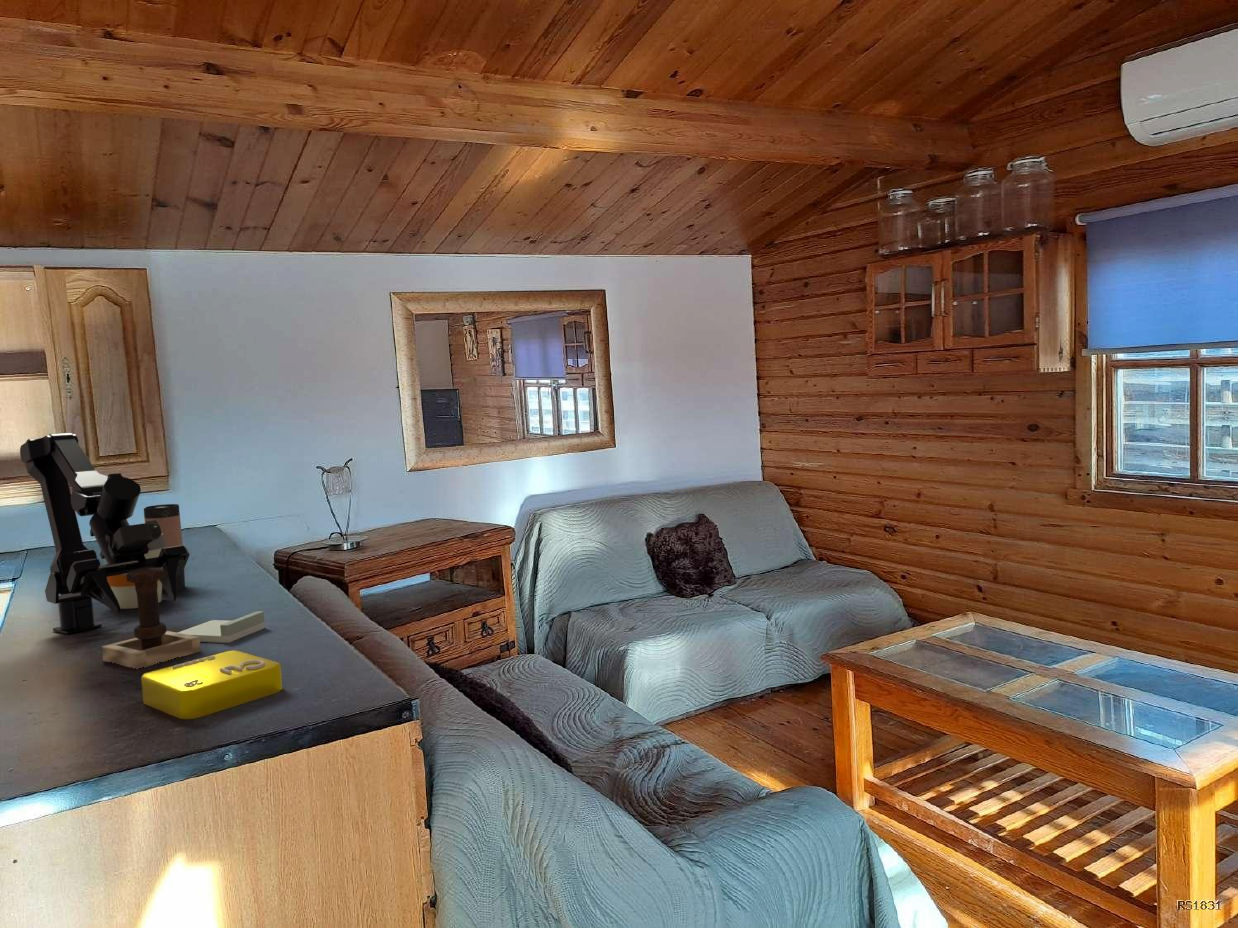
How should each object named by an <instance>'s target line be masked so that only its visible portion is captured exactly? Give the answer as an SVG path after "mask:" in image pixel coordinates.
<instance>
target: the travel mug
mask: <svg viewBox="0 0 1238 928" xmlns="http://www.w3.org/2000/svg"><path fill="white" fill-rule="evenodd" d="M143 517H144V523H146V521H152V520H156V521H157V522H158V524H159V526H160V528H161V532H162V533H163V535H164V540H165V545H166V546H165V547H164V548H166V547H172V546H178V545H183V546H184V544H183V534H182V526H181V525H182V524H181V523H182V522H181V513H180V504H179V503H178V504H177V503H168V504H167V503H166V504H156V505H149V506H145V507H144V508H143ZM185 579H186V576H185V569H184V570H183V572H182V573H181V574H179V575H178V576H177V578H176V591H179V590H182V589H185V588H186V580H185ZM162 593H167V592H166V590H165V589H164V587H163V585H162Z"/></svg>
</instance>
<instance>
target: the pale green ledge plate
mask: <svg viewBox="0 0 1238 928" xmlns="http://www.w3.org/2000/svg"><path fill="white" fill-rule="evenodd" d="M265 623H266V621H265V611H263V610H262V611H260V610H259V611H254V612H252V613H249V614H247V615H244V616H241V617H239V618H238V617H237V618H236V619H232V620H222V619H221V620H219V619H211V620H209V621H206V622H203V623H200V624H198V625H194V626H192V627H190V628H187V629H183V630H181V631H179V632H177V633H181V634H186V635H191V636H196V637H200V643H201V642H203V643H206V642H207V643H222V644H225V643H227V644H228V643H232V642H234V641H236V640H239V639H241V638H243V637H246V636H250V635H252V634H254V633H256V632H259V631H261V630H263V629H265V628H266V624H265Z"/></svg>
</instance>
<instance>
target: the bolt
mask: <svg viewBox="0 0 1238 928" xmlns="http://www.w3.org/2000/svg"><path fill="white" fill-rule="evenodd" d="M126 577H127V581H128V582H132V583H135V590H136V593H137V594H136V595H137V601H138V602H137V603H138V608H137V611H138V612H137V613H138V622H139V625H136V626H135V627H134V629H133V634H134V637H135V638H137V639H141V641H142V642H141V643H142V644H141V645H142V646H141V647H142V650H146V649H149V648H153V647H157V646H161V645H162V642H161V641H162V640H161V636H163V635H164V634H165V633H166V632H167V631H168V630H167V625H166V623H164V622H163V621H161V619H160V616H161V615H160V609H159V608H160V605H159V603H160V602H158V598H157V597H158V596H157V595H158V594H157V593H158V592H157V588H158V585H157V580H158V579H161V578H164V577H165V576H164V571H163V569H161V568H145V569H138V570H133V571H130V572H129V573H128V574H127V575H126Z"/></svg>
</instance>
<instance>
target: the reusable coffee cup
mask: <svg viewBox="0 0 1238 928" xmlns="http://www.w3.org/2000/svg"><path fill="white" fill-rule="evenodd" d="M147 546H148V548H149V551H148V554H145V555H144V556H145V558H146V559H149V558H155V557H159V554H160V551H161V549H162V548H164V547H165V546H166V545H165V540H164V535H163V533H162V534H161V536H160V537H159V538H158V539H156V540H153V541H152V542H150V543H149V544H148V545H147ZM103 560H104V565H105V564H107V562H106V560H105V558H104V559H103ZM126 575H127V574H126ZM126 575H122V574H121V575H115V576H108V577H107V581H108V583H109V585H110V587H111V589H112V591H113V593H114V595H115V596H116V598H117V600H118V602H119V605H120V608H121V609H120V610H123V609H124V610H125V609H126V610H127V609H138V603H137V602H138V601H137V595H136V594H137V593H136V590H135V583H132V582H128V581H127V577H126ZM157 585H158V588H157V592H158V593H157V594H158V595H157V596H158V597H157V598H158V602H159V603H161V602H162V596H163V595H162V594H163V592H162V583H161V582H160V579H158V580H157Z"/></svg>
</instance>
